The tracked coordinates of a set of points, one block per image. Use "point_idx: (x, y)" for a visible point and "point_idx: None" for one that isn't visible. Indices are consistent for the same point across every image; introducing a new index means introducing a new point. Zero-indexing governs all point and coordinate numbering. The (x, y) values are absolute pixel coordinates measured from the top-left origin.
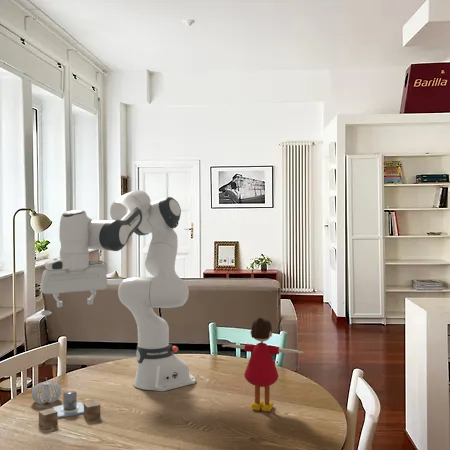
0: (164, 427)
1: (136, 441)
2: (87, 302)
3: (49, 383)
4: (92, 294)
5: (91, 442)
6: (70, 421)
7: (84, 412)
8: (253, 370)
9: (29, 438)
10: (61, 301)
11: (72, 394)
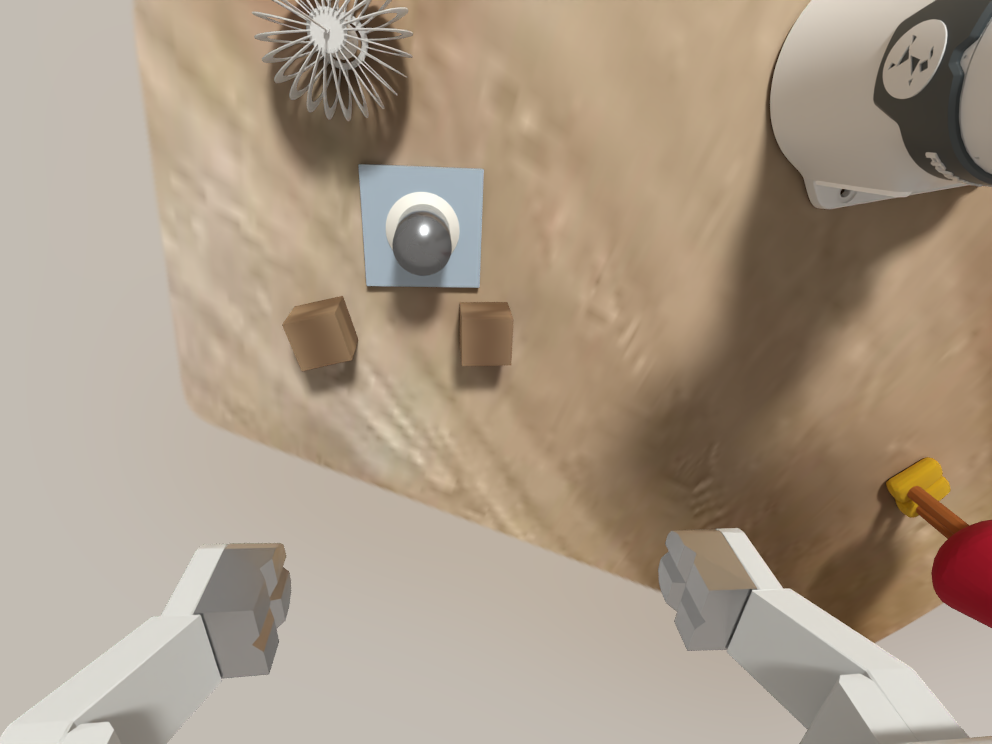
0: (632, 483)
1: (532, 524)
2: (677, 554)
3: (343, 45)
4: (814, 683)
5: (429, 490)
6: (404, 330)
7: (460, 315)
8: (970, 607)
9: (261, 400)
10: (249, 658)
11: (428, 273)
